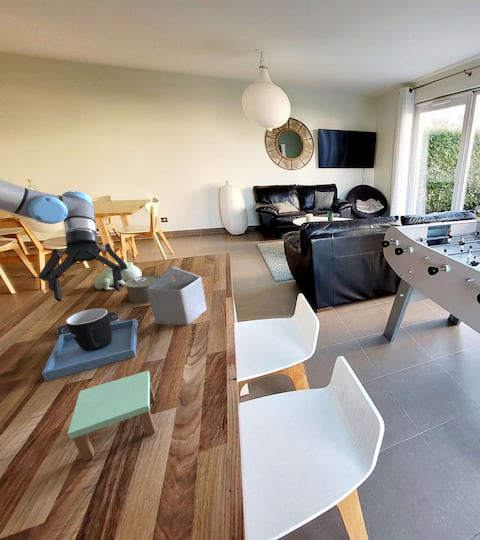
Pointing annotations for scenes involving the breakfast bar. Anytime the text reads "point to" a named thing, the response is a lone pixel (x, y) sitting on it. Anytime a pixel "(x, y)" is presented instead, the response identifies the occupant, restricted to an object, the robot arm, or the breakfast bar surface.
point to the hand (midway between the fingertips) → (89, 294)
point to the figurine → (107, 280)
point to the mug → (91, 329)
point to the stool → (111, 408)
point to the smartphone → (64, 330)
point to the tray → (91, 352)
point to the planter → (177, 297)
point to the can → (140, 288)
